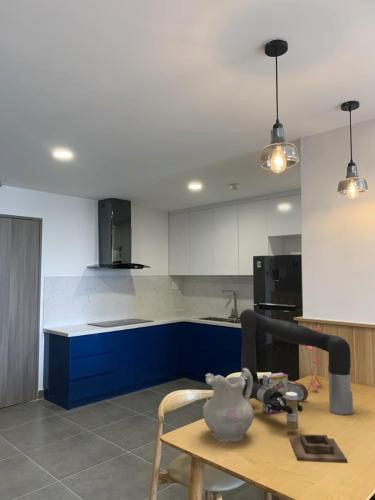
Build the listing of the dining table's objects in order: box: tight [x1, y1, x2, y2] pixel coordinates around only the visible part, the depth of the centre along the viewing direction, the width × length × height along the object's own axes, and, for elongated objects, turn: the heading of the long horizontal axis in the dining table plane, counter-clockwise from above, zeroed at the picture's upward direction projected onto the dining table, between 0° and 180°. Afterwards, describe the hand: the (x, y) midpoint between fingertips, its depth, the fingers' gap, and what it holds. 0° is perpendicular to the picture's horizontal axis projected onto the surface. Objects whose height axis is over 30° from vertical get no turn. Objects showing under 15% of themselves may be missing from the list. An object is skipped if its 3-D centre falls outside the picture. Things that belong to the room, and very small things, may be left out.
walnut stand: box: [289, 433, 348, 463], centre depth 132 cm, size 16×16×4 cm
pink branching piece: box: [304, 324, 323, 393], centre depth 203 cm, size 15×26×35 cm, turn 149°
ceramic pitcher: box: [202, 368, 255, 443], centre depth 146 cm, size 22×20×25 cm
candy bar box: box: [262, 372, 289, 415], centre depth 171 cm, size 11×5×16 cm, turn 114°
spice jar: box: [285, 392, 299, 431], centre depth 147 cm, size 5×5×13 cm
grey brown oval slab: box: [288, 379, 309, 402], centre depth 188 cm, size 15×3×8 cm, turn 40°
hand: (296, 410), depth 145 cm, fingers closed on spice jar, 4 cm apart
